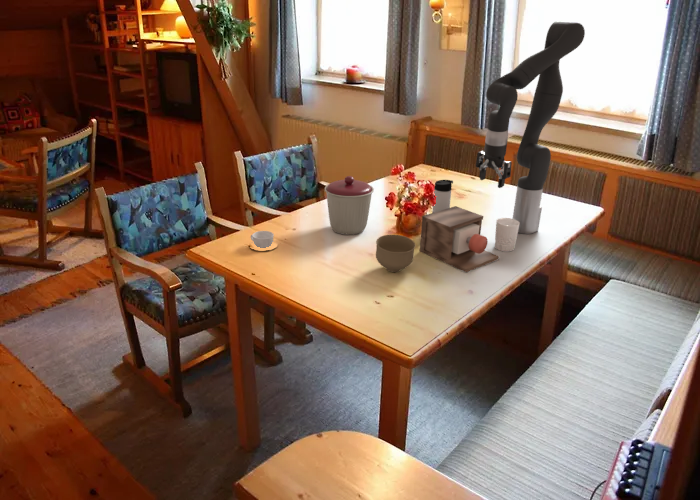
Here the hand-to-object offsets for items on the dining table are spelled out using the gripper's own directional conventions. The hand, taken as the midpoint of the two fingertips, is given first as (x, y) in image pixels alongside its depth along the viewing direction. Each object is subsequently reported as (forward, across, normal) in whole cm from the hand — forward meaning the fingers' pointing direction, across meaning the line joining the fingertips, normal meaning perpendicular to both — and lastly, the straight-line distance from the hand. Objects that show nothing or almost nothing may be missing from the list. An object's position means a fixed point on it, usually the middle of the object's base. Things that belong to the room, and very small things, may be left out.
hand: (491, 183), depth 211 cm
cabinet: (+16, -10, +25) cm, 31 cm away
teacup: (+15, +35, +77) cm, 86 cm away
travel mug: (+19, +10, +15) cm, 26 cm away
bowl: (+14, -6, +51) cm, 53 cm away
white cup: (+18, -15, +7) cm, 24 cm away
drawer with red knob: (+13, -12, +25) cm, 30 cm away
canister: (+18, +30, +43) cm, 56 cm away
